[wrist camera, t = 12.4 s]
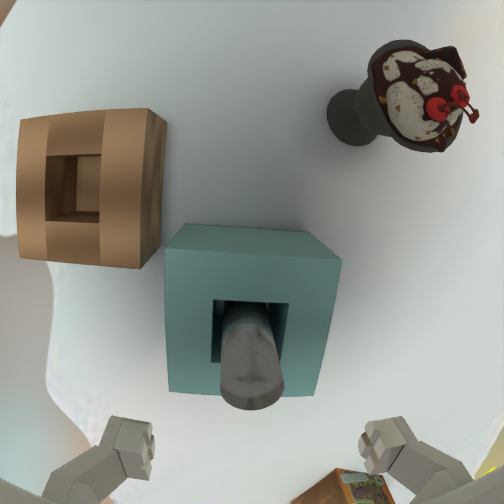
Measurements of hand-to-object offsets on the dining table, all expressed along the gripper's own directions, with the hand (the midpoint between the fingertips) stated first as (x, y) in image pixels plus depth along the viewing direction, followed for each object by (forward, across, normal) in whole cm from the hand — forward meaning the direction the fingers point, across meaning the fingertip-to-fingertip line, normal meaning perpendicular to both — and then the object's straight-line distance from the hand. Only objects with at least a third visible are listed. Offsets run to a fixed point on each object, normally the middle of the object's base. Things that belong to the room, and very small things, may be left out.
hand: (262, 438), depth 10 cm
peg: (+16, 0, +1) cm, 16 cm away
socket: (+17, +12, -7) cm, 22 cm away
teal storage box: (+17, 0, +1) cm, 17 cm away
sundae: (+17, -8, -14) cm, 24 cm away
